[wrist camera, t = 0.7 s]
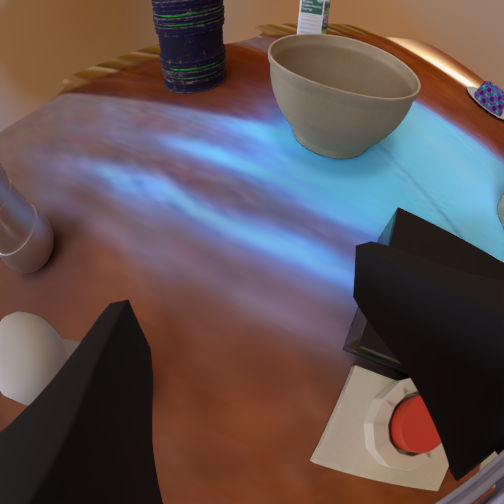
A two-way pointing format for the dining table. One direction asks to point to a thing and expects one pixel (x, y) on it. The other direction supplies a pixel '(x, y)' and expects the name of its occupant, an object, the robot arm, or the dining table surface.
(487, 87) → the pudding
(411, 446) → the button
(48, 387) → the robot arm
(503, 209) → the reusable coffee cup
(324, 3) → the syrup box
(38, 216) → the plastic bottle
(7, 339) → the salt shaker
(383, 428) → the button base
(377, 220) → the dining table surface
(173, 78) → the storage jar
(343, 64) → the planter bowl
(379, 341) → the lid
